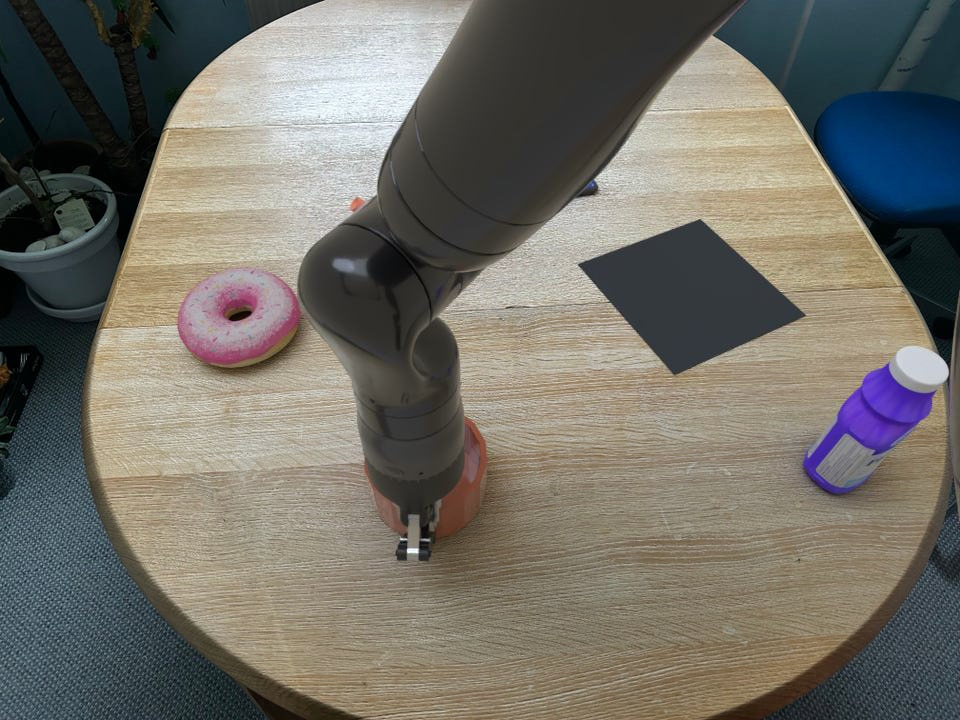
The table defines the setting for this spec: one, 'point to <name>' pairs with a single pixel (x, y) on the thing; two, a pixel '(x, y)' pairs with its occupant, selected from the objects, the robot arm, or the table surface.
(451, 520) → the bowl
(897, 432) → the bottle
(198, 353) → the donut
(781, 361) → the table surface
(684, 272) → the mat
